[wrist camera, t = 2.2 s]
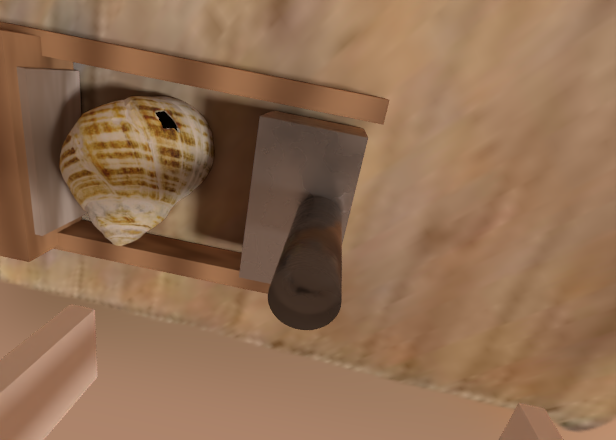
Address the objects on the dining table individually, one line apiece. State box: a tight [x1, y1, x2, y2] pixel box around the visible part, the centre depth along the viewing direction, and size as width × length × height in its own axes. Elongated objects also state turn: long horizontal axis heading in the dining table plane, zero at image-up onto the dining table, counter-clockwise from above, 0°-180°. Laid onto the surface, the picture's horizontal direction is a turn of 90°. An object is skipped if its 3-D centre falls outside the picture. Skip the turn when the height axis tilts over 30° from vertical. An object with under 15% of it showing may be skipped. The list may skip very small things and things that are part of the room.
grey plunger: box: [239, 111, 368, 330], centre depth 22 cm, size 7×12×15 cm, turn 169°
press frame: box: [0, 22, 389, 294], centre depth 27 cm, size 28×17×6 cm, turn 79°
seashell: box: [59, 96, 214, 246], centre depth 27 cm, size 10×10×10 cm
